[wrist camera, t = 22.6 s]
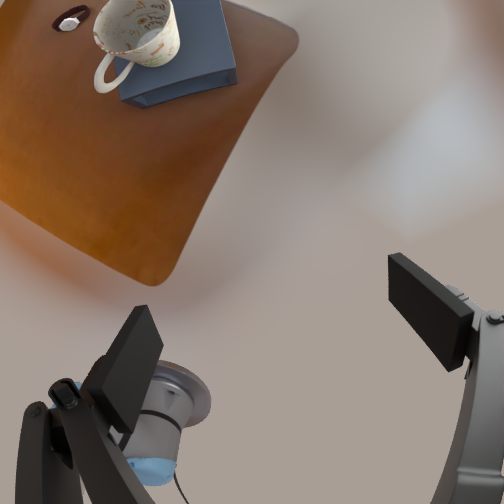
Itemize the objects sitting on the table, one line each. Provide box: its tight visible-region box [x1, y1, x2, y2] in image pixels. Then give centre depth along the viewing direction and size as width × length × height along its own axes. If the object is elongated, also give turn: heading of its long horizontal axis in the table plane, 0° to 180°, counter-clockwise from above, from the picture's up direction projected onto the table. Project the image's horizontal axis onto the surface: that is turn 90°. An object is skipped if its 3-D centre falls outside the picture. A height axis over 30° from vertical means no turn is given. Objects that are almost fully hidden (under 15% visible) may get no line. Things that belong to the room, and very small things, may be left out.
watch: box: [52, 5, 90, 31], centre depth 31 cm, size 8×5×4 cm, turn 98°
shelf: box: [114, 0, 238, 109], centre depth 33 cm, size 15×15×9 cm
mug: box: [94, 0, 180, 93], centre depth 25 cm, size 8×13×10 cm, turn 144°
